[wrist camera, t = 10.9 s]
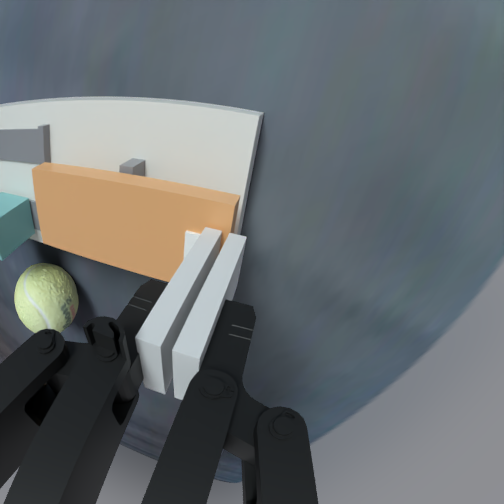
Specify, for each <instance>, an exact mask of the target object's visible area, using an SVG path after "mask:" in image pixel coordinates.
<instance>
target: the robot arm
mask: <svg viewBox="0 0 504 504" xmlns="http://www.w3.org/2000/svg"><path fill="white" fill-rule="evenodd" d="M221 236H222V231H220V230H216V229H212V228H208V227H205V228H204V230H203V231H202V233H201V234H200V236H199V237H198V239H197V240H196V242H195V243H194V245H193V246H192V248H191V249H190V251H189V252H188V254H187V255H186V257H185V258H184V260H183V262H182V263H181V265H180V266H179V268H178V269H177V271H176V272H175V274H174V275H173V277H172V279H171V280H170V282H169V283H168V284H165V283H162V282H159V281H155V280H152V279H151V280H150V281H148V282H146V283H145V284H143V285H142V286H140V288H139V289H138V290H137V292H136V293H135V294H134V297H132V299H131V300H130V301H129V303H128V305H127V306H126V307H125V309H124V310H123V311H122V313H121V314H120V316H119V317H118V319H117V320H115V319H114V318H110V317H105V316H104V317H96V318H94V319H91V320H89V321H88V322H87V323H86V324H85V325H84V326H83V328H84V332H85V335H86V338H87V340H88V343H78V342H70V341H65V340H64V338H63V336H62V335H61V334H60V332H58V331H56V330H54V329H43V330H40V331H38V332H37V333H35V334H34V335H33V336H31V337H30V338H29V339H28V340H27V341H26V342H24V343H23V344H22V345H21V346H20V347H19V348H18V349H17V350H15V351H14V352H13V353H12V354H11V355H10V356H9V357H8V358H7V359H5V360H4V361H3V362H2V363H1V364H0V488H1V487H2V486H3V485H4V484H5V482H6V481H7V480H8V479H9V478H10V477H11V476H12V474H13V473H14V472H15V471H16V470H17V469H18V467H19V466H20V467H19V469H18V472H17V474H16V476H15V478H14V480H13V483H12V485H11V487H10V489H9V492H8V494H7V497H6V499H5V502H4V504H96V501H97V499H98V496H99V493H100V490H101V488H102V486H103V483H104V481H105V478H106V476H107V473H108V470H109V468H110V466H111V463H112V461H113V458H114V456H115V453H116V451H117V449H118V446H119V444H120V441H121V439H122V437H123V434H124V432H125V430H126V427H127V425H128V423H129V420H130V418H131V416H132V413H133V411H134V409H135V407H136V404H137V402H138V398H139V392H138V389H139V387H140V385H141V383H142V381H143V382H144V386H145V387H146V388H149V389H152V390H154V391H157V392H160V393H163V394H166V391H167V389H168V387H169V384H170V382H171V380H172V377H173V381H174V396H175V398H178V399H181V400H182V402H181V405H180V407H179V410H178V412H177V415H176V417H175V420H174V422H173V425H172V427H171V430H170V432H169V435H168V437H167V440H166V442H165V445H164V447H163V450H162V452H161V455H160V457H159V460H158V463H157V465H156V468H155V470H154V473H153V475H152V478H151V480H150V483H149V485H148V488H147V490H146V493H145V496H144V498H143V501H142V503H141V504H206V503H207V499H208V496H209V492H210V490H211V486H212V483H213V479H214V476H215V473H216V469H217V466H218V462H219V459H220V456H221V452H222V449H225V450H227V451H228V452H230V453H232V454H233V455H235V456H237V457H239V458H240V459H242V483H243V504H318V498H317V491H316V485H315V477H314V471H313V464H312V458H311V451H310V444H309V438H308V432H307V426H306V424H305V421H304V419H303V418H302V417H301V416H300V414H299V413H298V412H296V411H294V410H292V409H290V408H286V407H274V408H268V407H266V406H264V405H263V404H261V403H259V402H257V401H256V400H254V399H253V398H251V397H250V396H249V394H248V393H247V392H246V391H245V389H244V387H243V383H242V374H243V370H244V366H245V362H246V358H247V354H248V350H249V345H250V341H251V337H252V333H253V329H254V325H255V320H256V316H255V312H254V309H253V306H249V305H246V304H242V303H238V302H234V301H232V299H233V297H234V294H235V291H236V288H237V285H238V279H239V274H240V269H241V264H242V259H243V254H244V249H245V244H246V239H247V237H245V236H241V235H237V234H233V233H229V235H228V237H227V239H226V241H225V243H224V245H223V247H222V249H221V251H220V253H219V250H220V243H221Z"/></svg>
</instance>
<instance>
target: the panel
mask: <svg viewBox="0 0 504 504" xmlns="http://www.w3.org/2000/svg"><path fill="white" fill-rule="evenodd" d="M263 115H264V113H263V112H258V111H252V110H247V109H241V108H235V107H229V106H222V105H215V104H208V103H200V102H191V101H182V100H171V99H158V98H141V97H67V98H51V99H40V100H30V101H21V102H14V103H7V104H0V193H1V192H4V193H9V194H13V195H18V196H22V197H26V198H29V202H30V208H31V214H32V219H33V225H34V230H35V234H33V235H32V236H31V237H30V239H33V240H36V241H39V242H42V243H43V240H42V235H41V230H40V225H39V219H38V213H37V207H36V201H35V194H34V186H33V177H32V168H34V167H36V166H38V165H40V164H42V163H44V162H48V163H57V164H65V165H72V166H80V167H87V168H94V169H100V170H107V171H114V172H120V173H126V174H132V175H138V176H144V177H150V178H155V179H161V180H166V181H172V182H177V183H182V184H187V185H193V186H198V187H203V188H207V189H212V190H217V191H222V192H227V193H231V194H236V195H240V200H239V206H238V212H237V218H236V223H235V229H234V234H237V235H240V234H241V229H242V223H243V218H244V213H245V207H246V202H247V197H248V191H249V186H250V181H251V176H252V171H253V165H254V160H255V155H256V150H257V145H258V140H259V135H260V130H261V125H262V120H263Z"/></svg>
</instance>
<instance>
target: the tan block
mask: <svg viewBox="0 0 504 504" xmlns="http://www.w3.org/2000/svg"><path fill="white" fill-rule="evenodd" d="M32 177H33V186H34V194H35V201H36V207H37V213H38V219H39V225H40V230H41V235H42V240H43V243H44V244H47V245H50V246H53V247H56V248H59V249H62V250H65V251H68V252H71V253H74V254H77V255H80V256H83V257H86V258H89V259H92V260H96V261H99V262H102V263H105V264H108V265H112V266H115V267H118V268H122V269H125V270H128V271H132V272H135V273H138V274H142V275H145V276H149V277H152V278H156V279H159V280H163V281H167V282H170V280H171V279H172V277H173V275H174V274H175V272H176V271H177V269H178V268H179V266H180V265H181V263H182V262H183V260H184V258H185V257H186V255H187V254H188V252H189V251H190V249H191V248H192V246H193V245H194V243H195V242H196V240H197V239H198V237H199V236H200V234H201V233H202V231H203V230H204V228H205V227H208V228H212V229H216V230H220V231H222V236H221V243H220V250H219V253H220V251H221V249H222V247H223V245H224V243H225V241H226V239H227V237H228V235H229V233H233V234H234V229H235V223H236V218H237V212H238V206H239V200H240V195H236V194H231V193H227V192H222V191H217V190H212V189H207V188H203V187H198V186H193V185H187V184H182V183H177V182H172V181H166V180H161V179H155V178H150V177H144V176H138V175H132V174H126V173H120V172H114V171H107V170H100V169H94V168H87V167H80V166H72V165H65V164H57V163H48V162H44V163H42V164H40V165H38V166H36V167H34V168H32Z"/></svg>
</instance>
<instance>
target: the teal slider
mask: <svg viewBox="0 0 504 504" xmlns="http://www.w3.org/2000/svg"><path fill="white" fill-rule="evenodd" d="M33 234H35V230H34V225H33V219H32V214H31V208H30V202H29V198H26V197H22V196H18V195H13V194H9V193H4V192H1V193H0V260H2V261H3V260H4V259H5V258H6V257H7V256H8V255H10V254H11V253H12V252H13V251H14V250H15V249H16V248H18V247H19V246H20V245H21V244H22V243H24V242H25V241H26V240H27V239H28V238H30V237H31V236H32V235H33Z"/></svg>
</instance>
